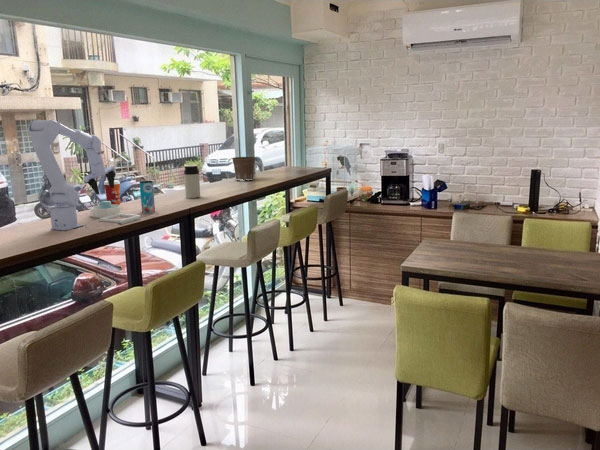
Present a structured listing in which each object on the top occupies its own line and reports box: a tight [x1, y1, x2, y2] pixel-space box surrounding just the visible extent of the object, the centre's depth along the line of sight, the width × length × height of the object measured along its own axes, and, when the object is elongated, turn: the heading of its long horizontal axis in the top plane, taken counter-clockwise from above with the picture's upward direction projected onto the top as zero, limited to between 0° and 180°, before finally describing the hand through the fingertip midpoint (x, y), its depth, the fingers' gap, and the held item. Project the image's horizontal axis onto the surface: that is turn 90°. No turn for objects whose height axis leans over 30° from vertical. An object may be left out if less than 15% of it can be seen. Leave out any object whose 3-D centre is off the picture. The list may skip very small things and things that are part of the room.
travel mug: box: [183, 164, 201, 199], centre depth 280 cm, size 8×8×18 cm
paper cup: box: [103, 179, 121, 205], centre depth 247 cm, size 8×8×14 cm
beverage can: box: [139, 180, 156, 214], centre depth 235 cm, size 6×6×15 cm
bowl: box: [90, 204, 123, 219], centre depth 230 cm, size 13×13×4 cm
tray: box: [99, 213, 142, 225], centre depth 219 cm, size 12×12×2 cm
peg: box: [99, 200, 111, 209], centre depth 229 cm, size 4×4×6 cm
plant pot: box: [231, 156, 256, 180], centre depth 351 cm, size 16×16×16 cm
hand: (104, 191), depth 227 cm, fingers open, 7 cm apart
